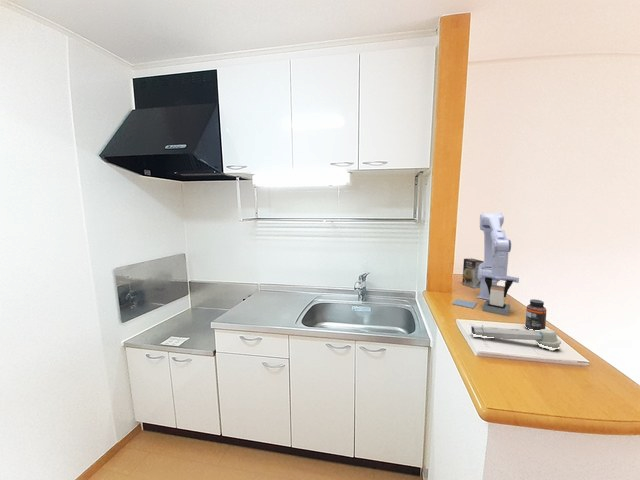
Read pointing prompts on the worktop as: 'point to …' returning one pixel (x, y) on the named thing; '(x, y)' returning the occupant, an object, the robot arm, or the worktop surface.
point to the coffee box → (471, 273)
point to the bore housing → (496, 308)
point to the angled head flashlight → (519, 334)
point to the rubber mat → (464, 303)
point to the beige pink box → (497, 295)
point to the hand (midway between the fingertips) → (497, 295)
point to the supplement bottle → (535, 315)
